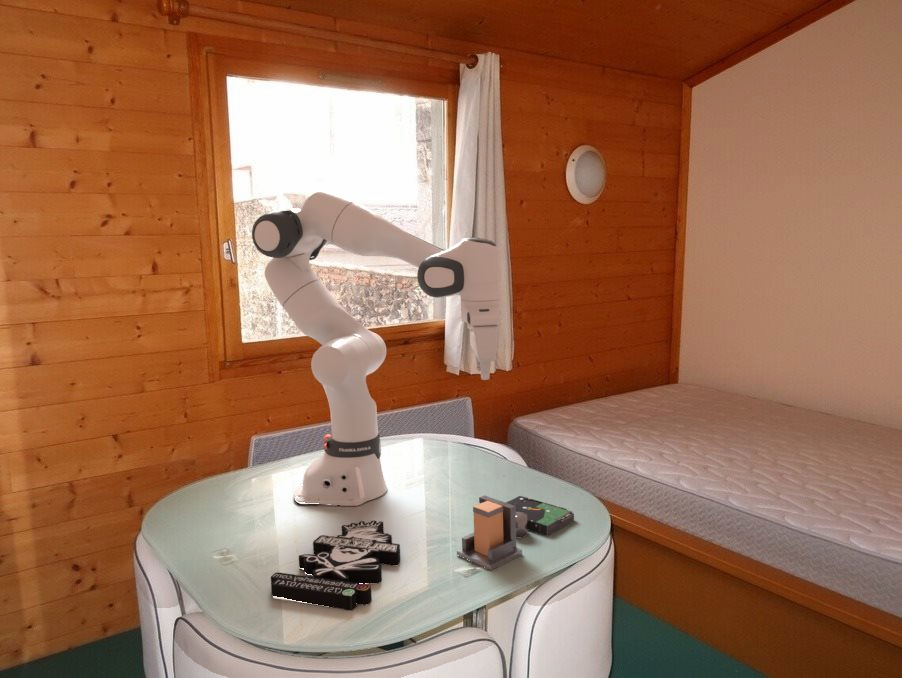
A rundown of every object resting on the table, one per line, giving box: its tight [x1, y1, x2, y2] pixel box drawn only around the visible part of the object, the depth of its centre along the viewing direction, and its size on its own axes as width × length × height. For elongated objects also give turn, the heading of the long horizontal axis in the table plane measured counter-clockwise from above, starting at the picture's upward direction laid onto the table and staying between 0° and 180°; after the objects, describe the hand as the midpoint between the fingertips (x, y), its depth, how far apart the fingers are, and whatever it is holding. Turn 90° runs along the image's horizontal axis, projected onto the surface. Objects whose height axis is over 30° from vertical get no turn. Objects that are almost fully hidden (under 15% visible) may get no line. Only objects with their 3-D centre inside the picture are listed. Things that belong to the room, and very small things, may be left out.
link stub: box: [516, 512, 529, 538], centre depth 147 cm, size 4×4×4 cm
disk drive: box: [505, 495, 575, 537], centre depth 154 cm, size 10×3×15 cm
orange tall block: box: [472, 501, 503, 556], centre depth 137 cm, size 4×4×9 cm
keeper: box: [456, 495, 523, 571], centre depth 138 cm, size 9×10×10 cm
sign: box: [270, 520, 401, 612], centre depth 136 cm, size 19×3×30 cm
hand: (482, 374), depth 156 cm, fingers open, 8 cm apart
